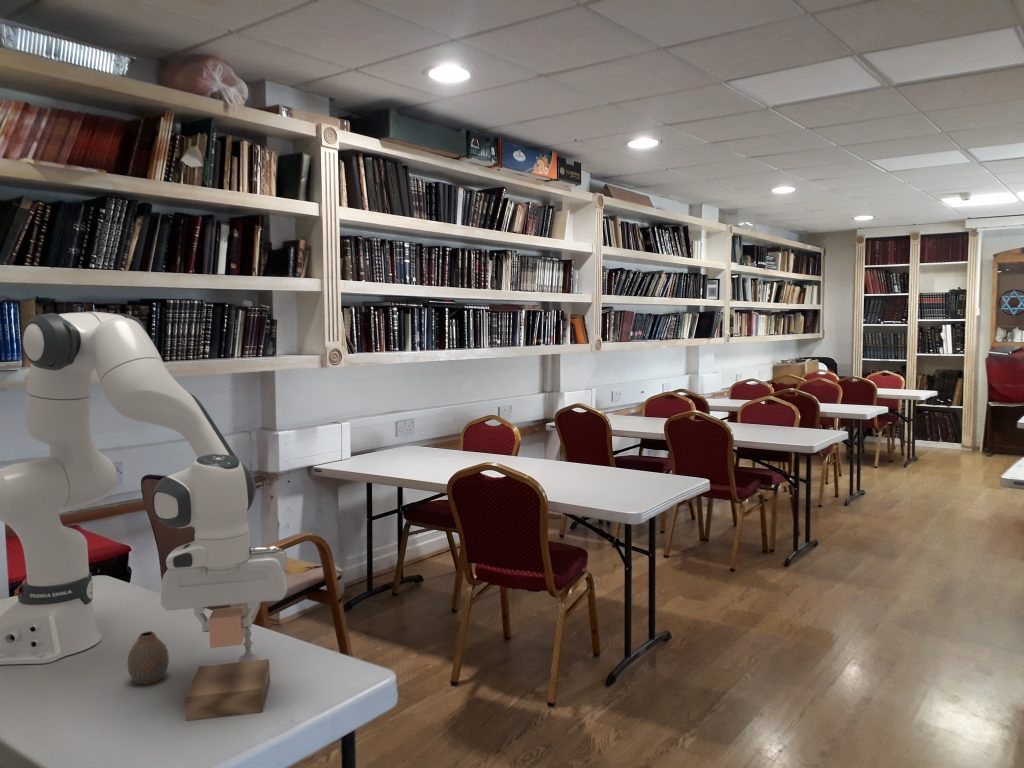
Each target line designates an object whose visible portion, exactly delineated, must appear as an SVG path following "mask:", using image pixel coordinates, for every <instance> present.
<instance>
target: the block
mask: <svg viewBox="0 0 1024 768" xmlns="http://www.w3.org/2000/svg"><path fill="white" fill-rule="evenodd" d="M243 616H244V606H241V607H223V608H213V610H212V612H211V614H210V616H209V617H208V619H209V632H208V633H209V634H208V635H209V648H210V649H215V648H227V647H235V646H241V645H243V643H244V642H243V641H244V640H245V637H244V636H245V628H242V620H241V619H242V617H243Z"/></svg>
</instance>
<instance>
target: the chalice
mask: <svg viewBox="0 0 1024 768" xmlns="http://www.w3.org/2000/svg"><path fill="white" fill-rule="evenodd" d="M261 603H262V602H258V605H257V607H256V610H255V611H254V613H253V615H252V623H253V622H255V620H256V618H257V615H258V613H259V610H260V607H261ZM229 606H230V607H229V608H231V607H241V606H244V615H248V613H249V611H250V609H248V603H243V604H232V605H229ZM251 635H252V631H251V628H245V636H244V642H242V645H243V646H244V648H245V649H244V650H245V653H244V654H243V655H241V656H240V657H239V659H238V660H237V661H238V662H247V661H257V660H260V659H259V658H260V657H259V656H258V655H257V654H256V653H253V652H252V649H251V648H252V644H253V641H252V639H251Z"/></svg>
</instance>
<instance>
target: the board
mask: <svg viewBox="0 0 1024 768" xmlns="http://www.w3.org/2000/svg"><path fill="white" fill-rule="evenodd" d="M198 666H199V665H198ZM270 668H271V667H270V659H269V658H267V659H266V658H265V659H259V660H257V661H247V662H228V663H220V664H219V663H217V664H211V665H209V664H208V665H200V666H199V667H198V668H197V671H196V673H195V675H194V677H193V679H192V681H191V684H190V685H189V688H188V689H187V692H186V694H185V696H184V703H185V719H186V720H185V721H187V722H188V721H195V720H205V719H212V718H213V719H214V718H220V717H229V716H239V715H246V714H247V715H248V714H256V713H262V712H264V708H263V707H265V704H266V698H267V695H268V690H269V687H270V686H269V685H270V682H271V675H270V674H271V673H270V671H271V669H270Z"/></svg>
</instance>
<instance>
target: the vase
mask: <svg viewBox="0 0 1024 768" xmlns="http://www.w3.org/2000/svg"><path fill="white" fill-rule="evenodd" d="M169 663H170V655H169V651H168V648H167V646H166V644H165V643H164V642H163V641H162V640H161V639H160V638H158V636H157V635H156V633H155V632H154V631H151V630H149V631H144V632H142V633H140V634H139V636H138V638H137V640H136V642H135V643H134V644H133V646H132V647H131V649H130V651H129V654H128V657H127V671H128V675H129V676H130V678H131V680H133V681H134V682H136V683H137V684H139V685H144V686H145V685H151V684H154V683H157V682H159V681H160V680H161V679H162V678H163V677H164V676H165V675H166V673H167V671H168V668H169Z"/></svg>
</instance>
